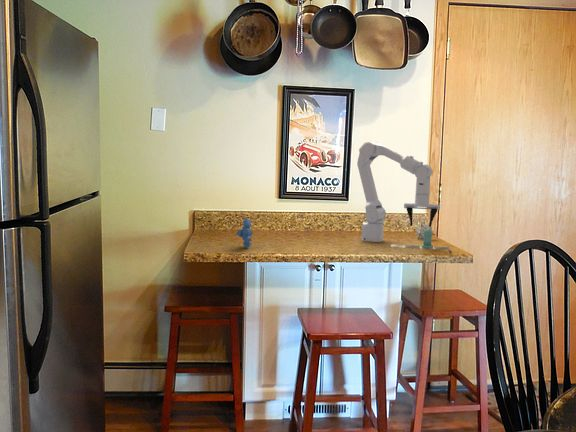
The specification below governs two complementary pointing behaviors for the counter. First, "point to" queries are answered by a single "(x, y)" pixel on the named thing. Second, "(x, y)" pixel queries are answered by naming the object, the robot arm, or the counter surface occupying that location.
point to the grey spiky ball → (422, 230)
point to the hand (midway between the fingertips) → (420, 226)
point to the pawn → (427, 239)
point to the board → (421, 247)
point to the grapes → (245, 233)
